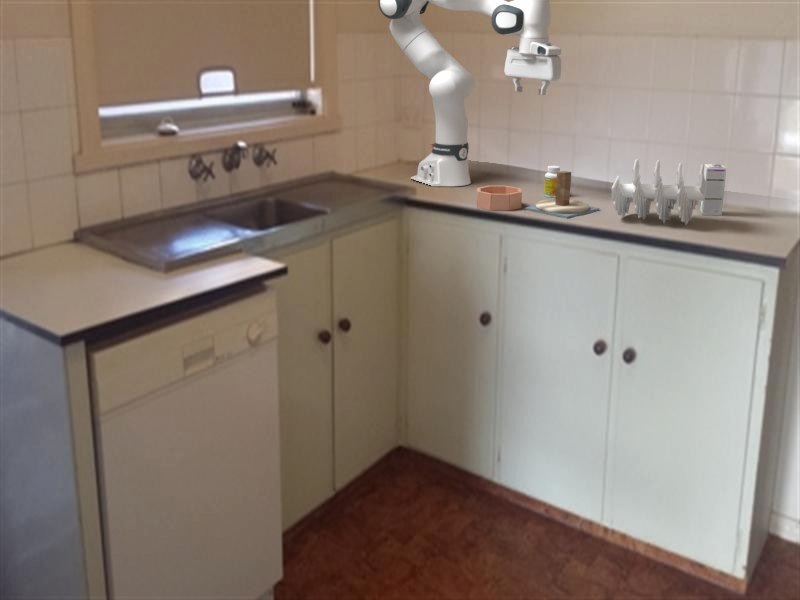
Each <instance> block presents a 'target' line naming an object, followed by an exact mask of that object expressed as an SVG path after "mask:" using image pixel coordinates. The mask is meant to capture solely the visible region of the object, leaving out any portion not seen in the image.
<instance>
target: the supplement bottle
mask: <svg viewBox="0 0 800 600" xmlns="http://www.w3.org/2000/svg"><path fill="white" fill-rule="evenodd" d="M560 170H561V166H560V165H548V166H547V172H546V173H545V174H544V186H543V187H544V188H543V196H544V197H546V198H550V199H551V198H552V199H556V184H557V172H560Z"/></svg>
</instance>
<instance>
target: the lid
mask: <svg viewBox="0 0 800 600" xmlns="http://www.w3.org/2000/svg"><path fill="white" fill-rule="evenodd" d="M571 181H572V171H567V170H561V171H559V172H557V184H556V198H552V199H551V198H550V199H542V200H539V201H537V202H535V205H536V208H537V209H538V210H541V211H545V212H550V213H561V214H572V213H582V212H586V211H588V210H589V206H590V205H589V204H588V203H587V202H584V201H579V200H575V199H571V184H572V182H571Z"/></svg>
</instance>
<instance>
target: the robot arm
mask: <svg viewBox="0 0 800 600" xmlns="http://www.w3.org/2000/svg"><path fill="white" fill-rule="evenodd" d="M377 1H378V3H377V4H378V8H379V10H380V12H381V13H382V15H383V16H384V17H385V18H387V19H389V20H391V21H390V23H389V31H390V34H391V35H392V37H393V39H394V41H395V43H396V44H397V45H398V47H399V48H400V50H402V52H403V53H404V54H405V56H406V57H407V58H408V59H409V60H410V62H411V63H412V64H413V65H414V66H415V68H416V69H417V70H418V71H419V72H420V73H422V74H423V75H425V76H426V77H427V78H428V79H429V80H430V82H429V85H428V89H429V91H428V92H429V94H430V96H431V98H432V104H433V105H432V106H433V113H434V118H435V141H434V143H430V144H429V148H432V149H431V152H430V154H428V155H427V156H426V157H425V158H423V159H422V160H421V161H420V162H419V163H418V166H417V174H416V175H413V176H411V177H410V180H411V179H414V180H416V181H419V182H422V183H421V184H423V183H425V184H424V185H426V184H428V185H427V186H429V185H431V186H430V187H463V186H468V185H470V184H472V182H471V181H472V180H471V176H470V171H469V170H470V169H469V159H468V156H469V155H468V154H469V149H470V148H469V147H470V146H469V142H468V124H469V122H468V117H467V114H466V109H465V101H464V99H467V98H468V97H469V96H470V95H471V93H472V92H473V90H474V87H475V79H474V76H473V75H472V73H471V72H470V71H468V70H467V69H466V68H465V67H464V66H462V64H461V63H460V62H459V61H458V60H457V59H455V57H454V56H452V55H451V54H450V52H447V51H446V49H445V48H443V46H442V45H441V44H440V42H439V41H438V40H437V39H436V38H435V36H434V35H433V34H432V32H430V31H429V29H428V28H427V27H426V26H425V24H424V23H423V22H422V20H421V18H420V17H421V16H420V15H422V14H425V12H426V10H427V7H428V5H429V4H431V3H432V5H435V6H437V7H440V8H443V9H447V10H449V11H469V12H476V13H481V14H483V15H485V16H488V17H491V19H490V21H491V23H490V24H491V26H492V29H493V30H494V32H496V33H497V34H499V35H501V36H519V46H514V45H513V46H512V45H511V46H510V47H509V48H508V49H507V51H506V58H505V62H504V71H503V73H504V74H505V76H506V77H512V82H513V84H514V86H515V89H514V90H515V91H514V92H515V93H522V92H523V89H524V87H523V85H521V82H520V81H521V79H528V80H529V79H530V80H531V79H532V80H538V81H540V80H541V84H542V86H541V88H538V95H540V96H546V93H547V89H548V87H549V86H550V82H554V81H555V82H556V81H559V79H560V78H561V74H562V59H561V57H560V55H561V54H562V48H560V47H559V46H557V45H555V44H554V43H551V42H549V37H550V36H549V28H550V27H549V26H550V23H551V0H511V1H507V0H377ZM416 181H415V182H416ZM419 182H418V183H419Z"/></svg>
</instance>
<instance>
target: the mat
mask: <svg viewBox="0 0 800 600" xmlns="http://www.w3.org/2000/svg"><path fill="white" fill-rule="evenodd" d="M600 209H601V208H600V207H595V206H591V205H589V210H588V211H586V212H582V213H572V214H561V213H550V212H545V211H541V210H538V209H537V208H536V204H535V205H529V206H526V207H524V210H526V211H529V212H535V213H540V214H544V215H550V216H553V215H555V217H558V216H559V218H563V217H564V218H563V219H571V218H575V217H579V216H581V215H586V214H590V213H593V212H598V211H600ZM570 217H571V218H570Z"/></svg>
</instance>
